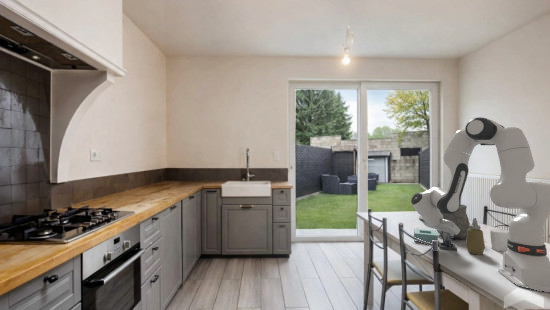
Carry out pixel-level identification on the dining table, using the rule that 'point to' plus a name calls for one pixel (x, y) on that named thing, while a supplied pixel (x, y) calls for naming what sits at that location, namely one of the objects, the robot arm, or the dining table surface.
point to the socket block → (425, 235)
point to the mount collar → (447, 247)
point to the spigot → (447, 239)
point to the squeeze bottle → (475, 239)
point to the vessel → (458, 221)
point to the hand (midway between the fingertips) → (448, 234)
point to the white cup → (499, 239)
